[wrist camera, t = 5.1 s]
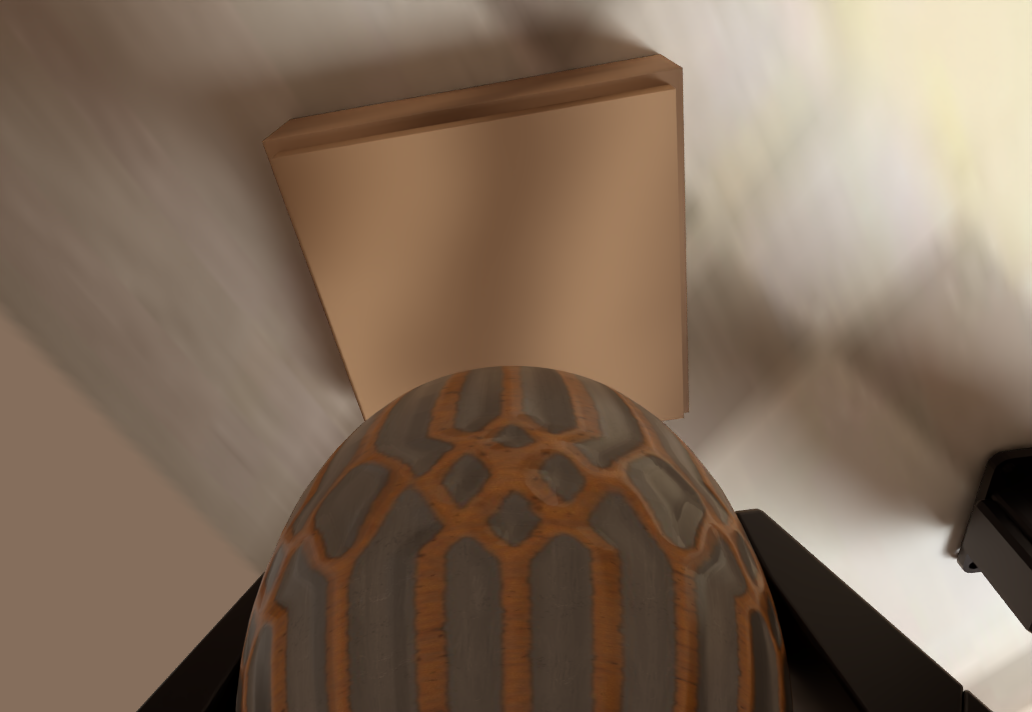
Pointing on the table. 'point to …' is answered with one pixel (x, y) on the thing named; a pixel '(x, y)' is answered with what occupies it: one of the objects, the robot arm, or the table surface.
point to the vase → (513, 565)
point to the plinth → (501, 231)
